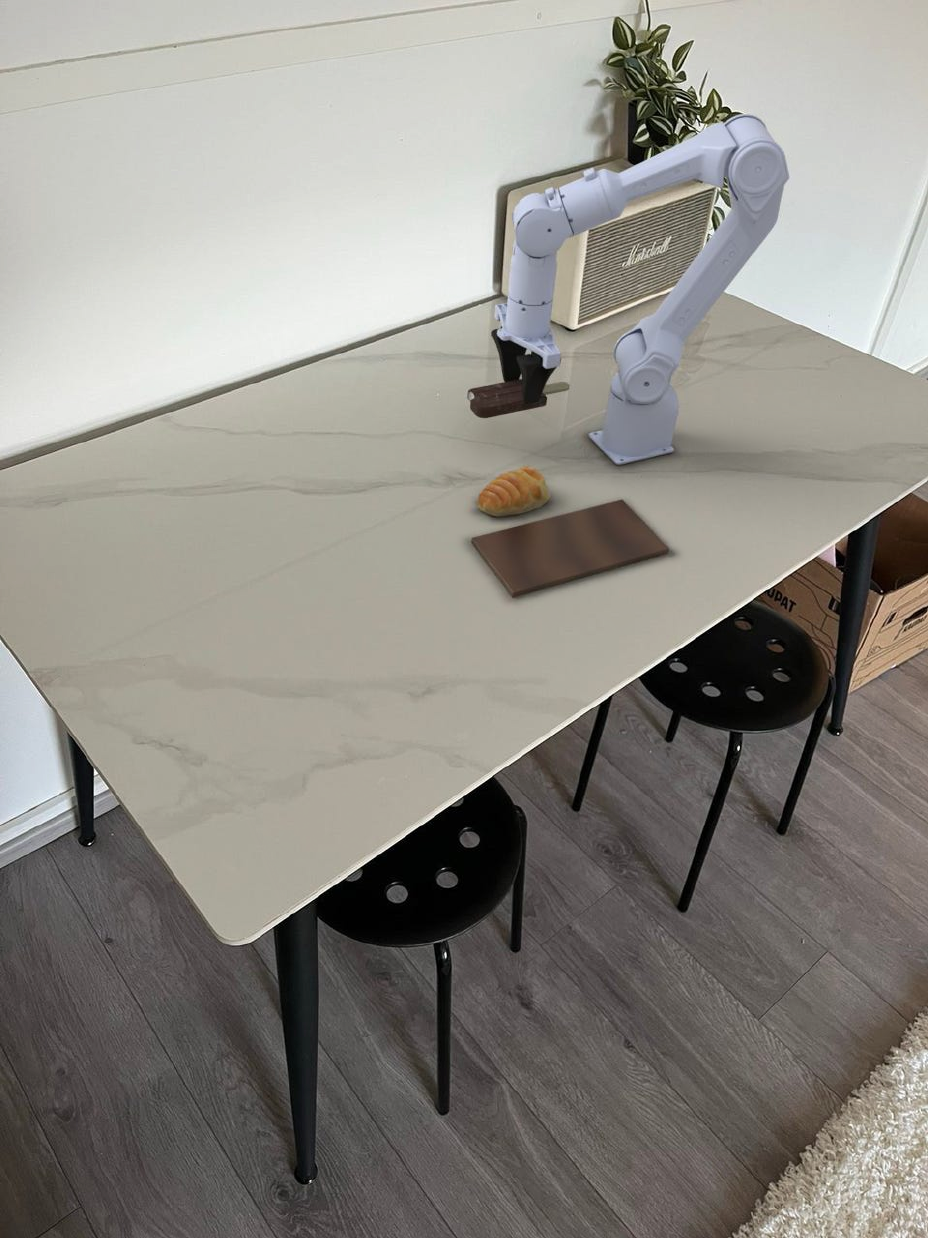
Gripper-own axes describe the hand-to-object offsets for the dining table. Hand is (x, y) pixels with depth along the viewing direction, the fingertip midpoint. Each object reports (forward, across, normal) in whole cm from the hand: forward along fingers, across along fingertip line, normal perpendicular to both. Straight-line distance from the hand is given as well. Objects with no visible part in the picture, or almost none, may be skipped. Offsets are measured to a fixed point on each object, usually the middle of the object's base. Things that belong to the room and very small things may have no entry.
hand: (520, 390), depth 139 cm
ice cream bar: (+2, 0, 0) cm, 2 cm away
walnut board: (+8, +24, -5) cm, 25 cm away
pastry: (+8, +13, -7) cm, 17 cm away
